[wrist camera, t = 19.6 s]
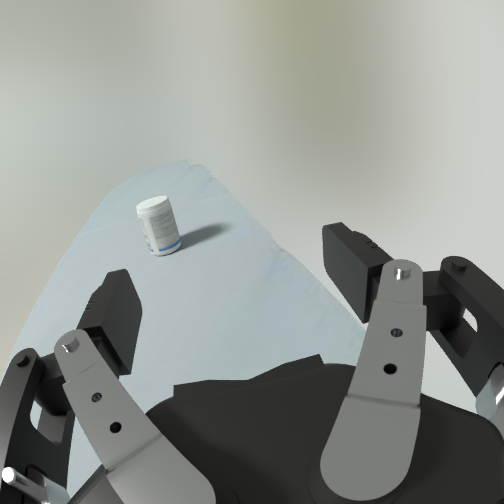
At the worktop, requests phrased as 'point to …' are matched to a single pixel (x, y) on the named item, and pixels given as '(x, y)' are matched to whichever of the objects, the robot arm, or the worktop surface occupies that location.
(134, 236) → the worktop surface
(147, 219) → the supplement tub
